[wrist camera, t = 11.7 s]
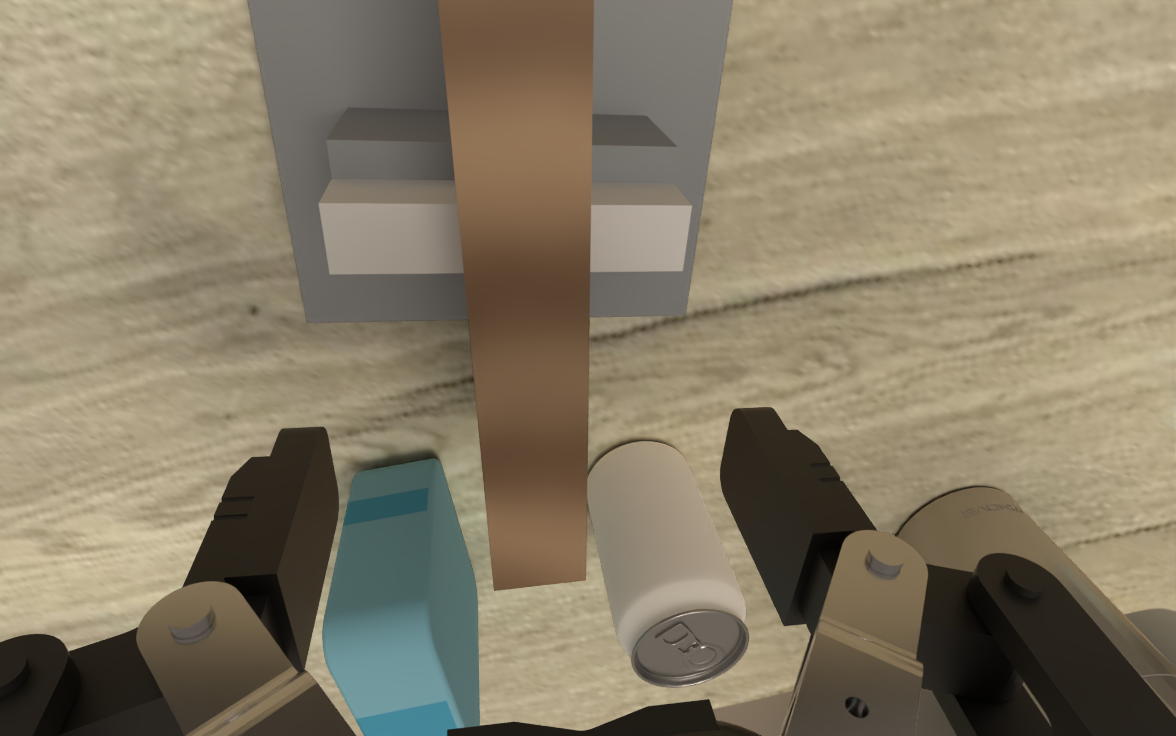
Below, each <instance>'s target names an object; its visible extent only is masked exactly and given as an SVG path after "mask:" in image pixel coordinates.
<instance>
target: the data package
mask: <svg viewBox="0 0 1176 736" xmlns="http://www.w3.org/2000/svg"><path fill="white" fill-rule="evenodd" d="M322 639H323V651H324V656H325V661H326V664H327V667H328V669H329V671H330V673H331V675H332V677H333V679H334V681H335V682H336V684H337V686H338V688H339V690H340V692H341V694H342V695H343V697H344V699H345V701H346V703H347V705H348V707H349V708H350V710H351V712H352V714H353V716H354V718H355V720H356V722H357V723H358V725H359V727H360V729H361V731H362V733H363V735H364V736H447V730H448V729H456V728H465V727H474V726H480V709H479V648H478V599H477V589H476V582H475V577H474V573H473V569H472V566H471V563H470V559H469V556H468V553H467V549H466V546H465V542H464V539H463V536H462V532H461V529H460V526H459V522H458V519H457V516H456V512H455V509H454V505H453V502H452V499H451V495H450V492H449V489H448V485H447V482H446V478H445V475H444V472H443V469H442V466H441V464H440V462H439V461H438V460H437V459H434V458H432V459H427V460H421V461H416V462H410V463H404V464H399V465H393V466H388V467H382V468H376V469H371V470H365V471H360V472H358V473H357V474H356V475H355V476H354V478H353V482H352V486H351V491H350V496H349V500H348V505H347V510H346V515H345V520H344V524H343V529H342V534H341V539H340V544H339V548H338V553H337V558H336V563H335V568H334V572H333V577H332V582H331V587H330V591H329V596H328V601H327V606H326V611H325V615H324V621H323V631H322Z"/></svg>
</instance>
